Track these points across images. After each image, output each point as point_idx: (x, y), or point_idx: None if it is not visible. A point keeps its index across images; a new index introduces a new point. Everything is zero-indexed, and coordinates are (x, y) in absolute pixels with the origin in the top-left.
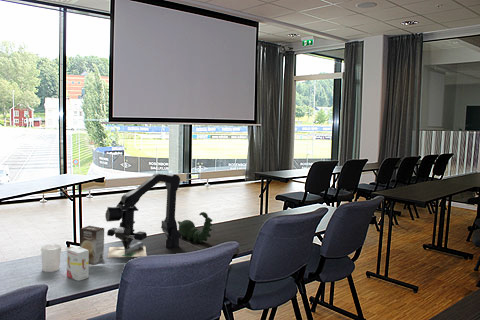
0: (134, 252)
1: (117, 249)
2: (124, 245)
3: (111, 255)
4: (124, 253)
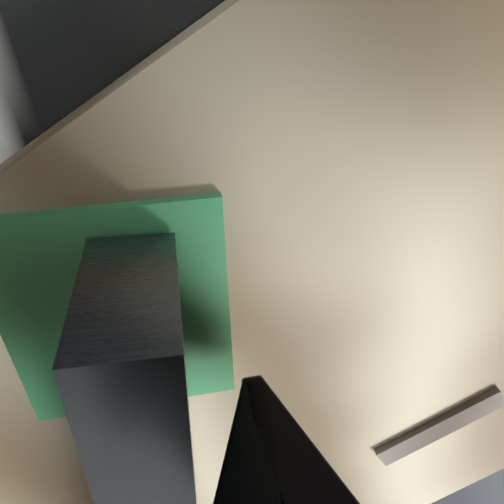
0: None
1: (479, 399)
2: (315, 501)
3: (487, 59)
4: (261, 322)
